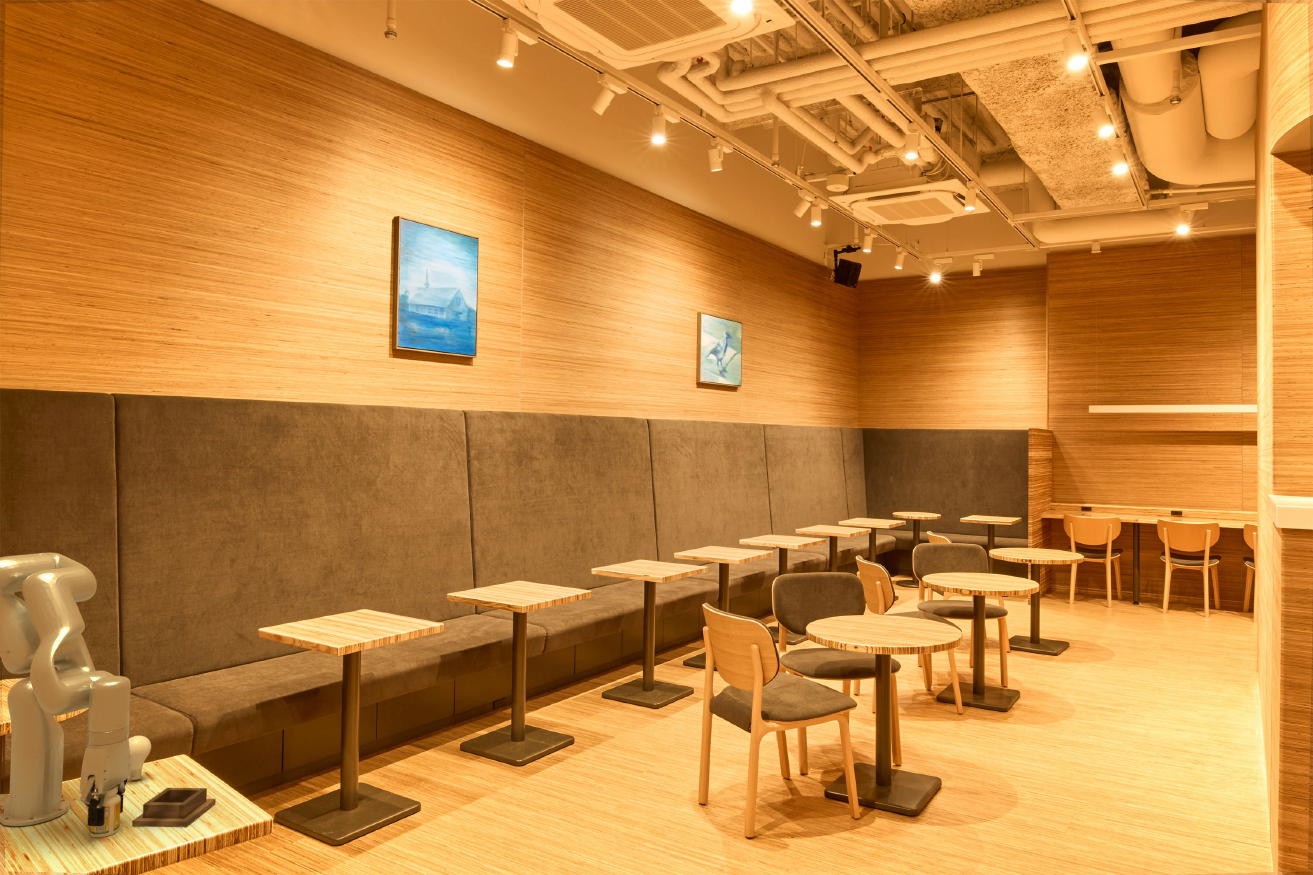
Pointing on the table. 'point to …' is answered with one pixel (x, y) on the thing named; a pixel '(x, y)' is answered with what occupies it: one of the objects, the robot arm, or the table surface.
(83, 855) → the table surface
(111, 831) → the supplement bottle
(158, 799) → the holder
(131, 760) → the lightbulb
